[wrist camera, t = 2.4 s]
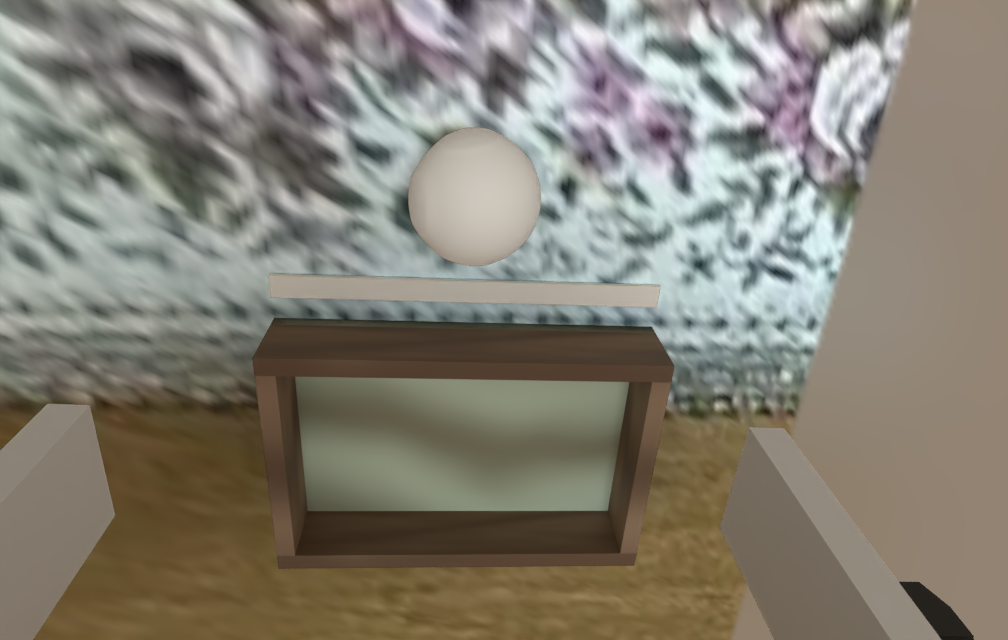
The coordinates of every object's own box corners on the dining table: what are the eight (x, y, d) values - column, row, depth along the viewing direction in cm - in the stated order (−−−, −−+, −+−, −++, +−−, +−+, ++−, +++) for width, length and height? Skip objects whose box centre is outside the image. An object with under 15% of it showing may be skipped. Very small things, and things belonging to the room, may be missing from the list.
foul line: (269, 273, 28) (268, 275, 28) (659, 285, 29) (660, 287, 29) (271, 295, 28) (270, 297, 28) (655, 305, 30) (657, 307, 29)
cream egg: (413, 113, 25) (403, 140, 21) (538, 120, 26) (555, 148, 21) (412, 236, 28) (404, 284, 23) (527, 241, 28) (541, 288, 23)
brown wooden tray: (274, 318, 29) (252, 358, 26) (651, 327, 30) (674, 366, 27) (295, 514, 34) (278, 568, 31) (618, 514, 35) (634, 565, 32)
